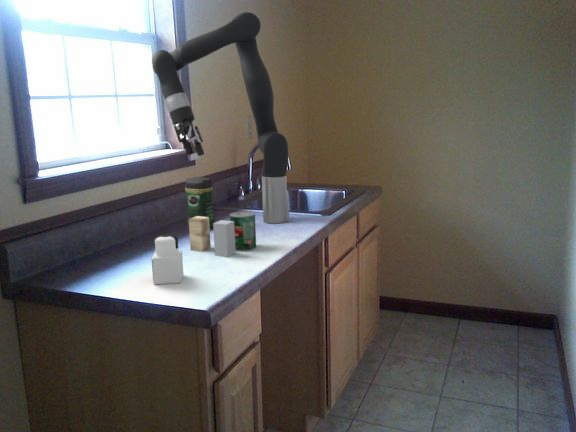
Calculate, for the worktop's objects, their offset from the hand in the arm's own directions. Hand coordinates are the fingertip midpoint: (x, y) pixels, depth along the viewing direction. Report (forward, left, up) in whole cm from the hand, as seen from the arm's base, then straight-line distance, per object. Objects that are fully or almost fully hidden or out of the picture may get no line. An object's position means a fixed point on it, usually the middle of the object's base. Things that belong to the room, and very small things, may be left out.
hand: (196, 154), depth 194 cm
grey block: (-3, +26, -28) cm, 38 cm away
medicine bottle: (+16, +44, -28) cm, 55 cm away
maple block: (+3, +17, -28) cm, 33 cm away
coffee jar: (-2, -11, -28) cm, 30 cm away
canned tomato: (-10, +21, -28) cm, 37 cm away
